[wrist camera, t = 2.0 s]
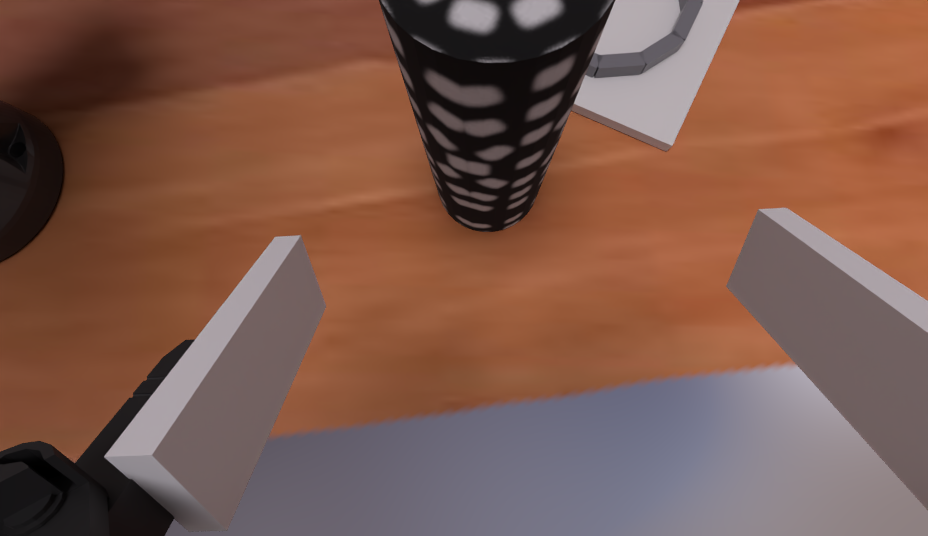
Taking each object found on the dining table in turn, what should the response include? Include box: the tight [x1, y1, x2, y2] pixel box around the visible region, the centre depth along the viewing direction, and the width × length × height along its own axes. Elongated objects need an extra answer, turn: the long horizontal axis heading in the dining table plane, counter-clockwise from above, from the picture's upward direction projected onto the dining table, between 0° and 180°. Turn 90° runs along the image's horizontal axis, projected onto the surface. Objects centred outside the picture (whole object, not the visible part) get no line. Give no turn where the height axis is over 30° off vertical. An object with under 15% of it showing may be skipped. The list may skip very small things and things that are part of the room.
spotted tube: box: [379, 0, 615, 232], centre depth 22 cm, size 8×8×20 cm
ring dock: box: [571, 0, 739, 151], centre depth 33 cm, size 20×20×2 cm
